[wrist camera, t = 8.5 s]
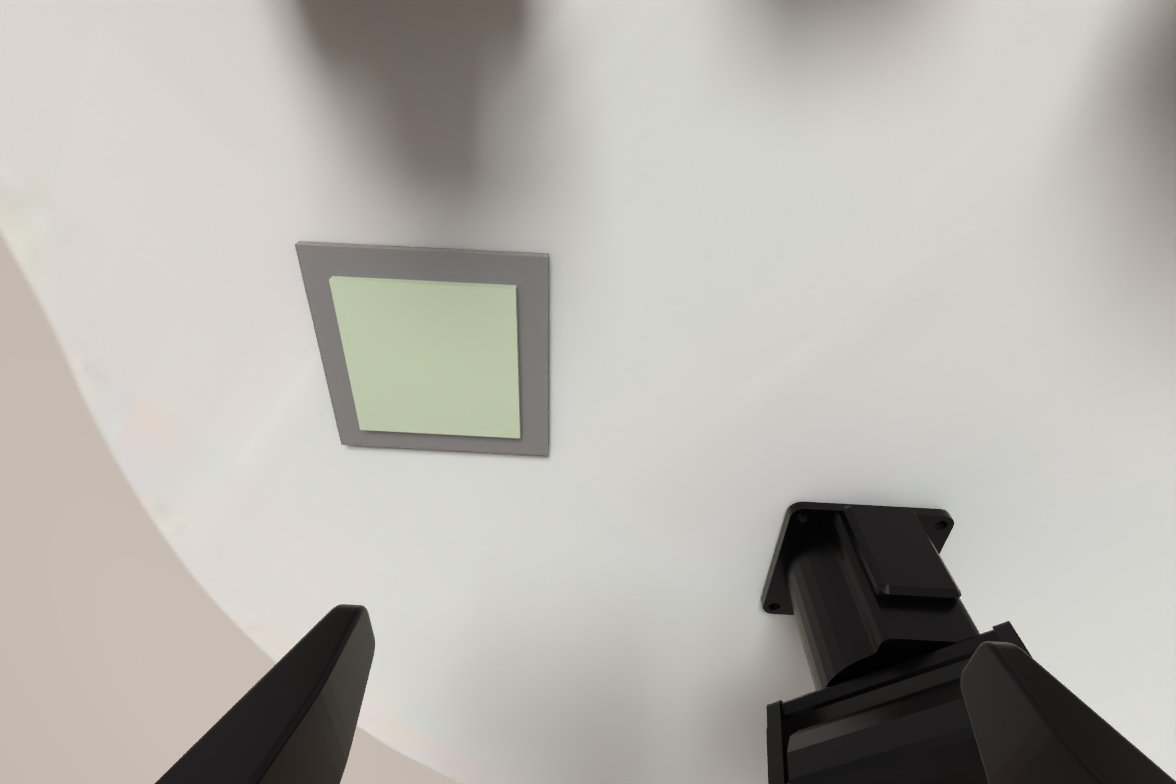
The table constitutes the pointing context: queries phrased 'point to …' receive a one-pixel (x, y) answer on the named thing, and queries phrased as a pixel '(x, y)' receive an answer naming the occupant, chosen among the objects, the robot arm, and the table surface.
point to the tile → (432, 345)
